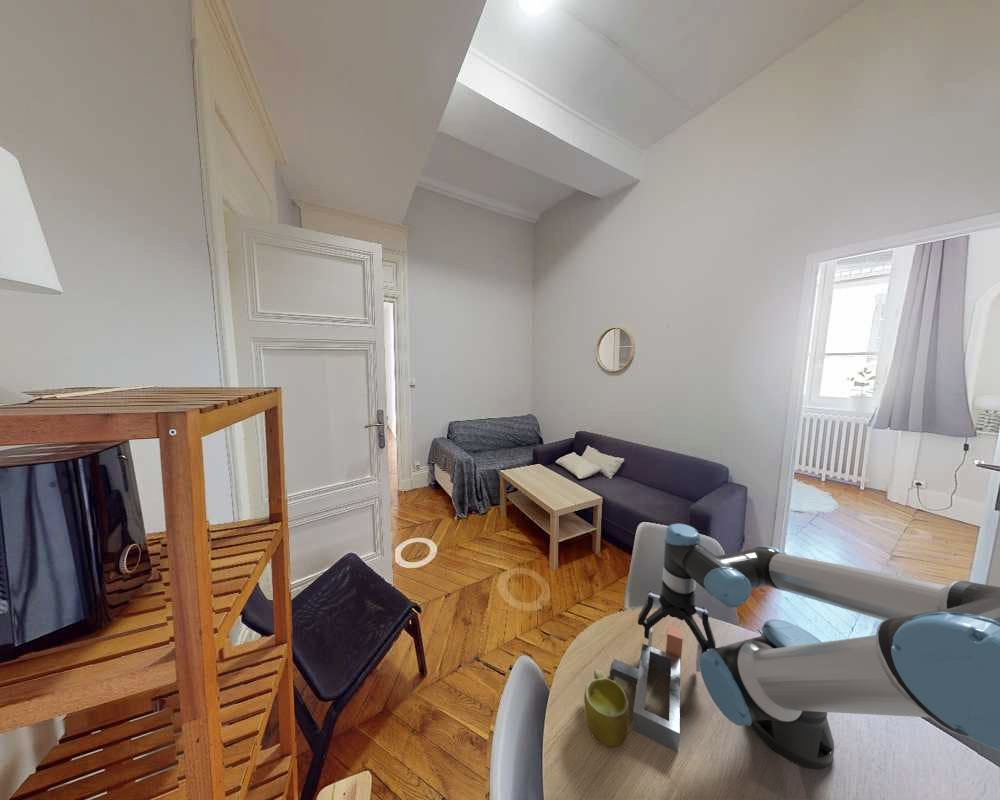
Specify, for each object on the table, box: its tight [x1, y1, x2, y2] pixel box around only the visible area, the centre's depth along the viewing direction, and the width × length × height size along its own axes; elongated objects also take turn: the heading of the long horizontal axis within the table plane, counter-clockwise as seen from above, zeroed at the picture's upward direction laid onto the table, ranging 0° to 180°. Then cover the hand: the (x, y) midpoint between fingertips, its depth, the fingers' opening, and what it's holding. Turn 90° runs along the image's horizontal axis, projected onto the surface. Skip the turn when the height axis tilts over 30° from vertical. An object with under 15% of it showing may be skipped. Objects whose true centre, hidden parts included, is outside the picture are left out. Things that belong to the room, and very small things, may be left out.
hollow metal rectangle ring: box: [609, 643, 681, 753], centre depth 81 cm, size 16×19×5 cm
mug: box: [583, 669, 630, 749], centre depth 75 cm, size 12×10×10 cm
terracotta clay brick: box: [665, 623, 684, 667], centre depth 88 cm, size 4×4×10 cm
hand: (673, 657), depth 88 cm, fingers open, 11 cm apart
